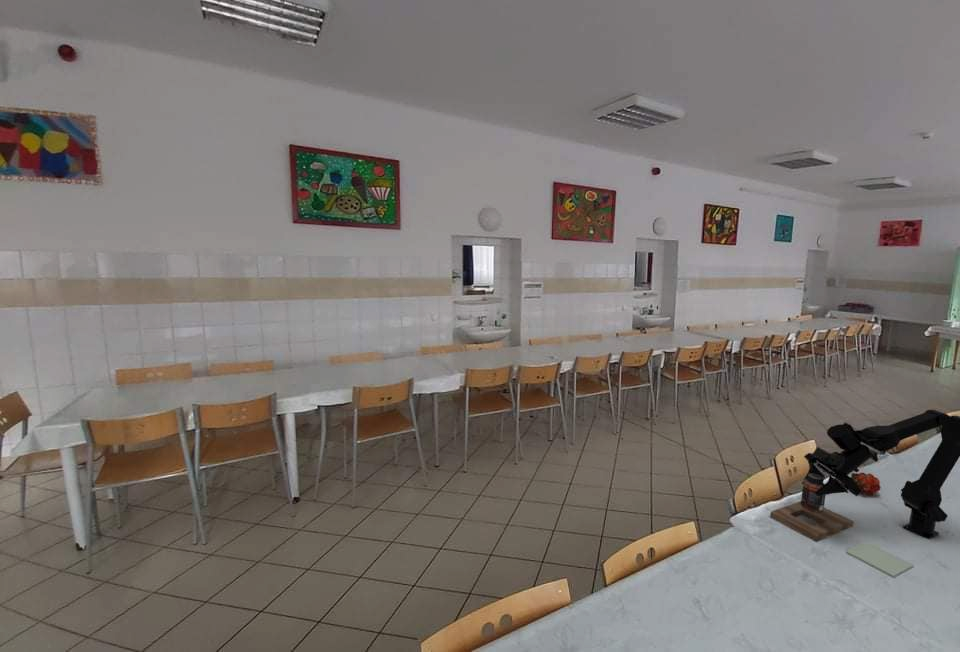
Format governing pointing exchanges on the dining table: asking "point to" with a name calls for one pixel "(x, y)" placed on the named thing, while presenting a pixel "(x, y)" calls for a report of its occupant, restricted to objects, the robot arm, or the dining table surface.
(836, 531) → the socket board
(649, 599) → the dining table surface
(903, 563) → the sage pad
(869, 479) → the dragon fruit
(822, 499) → the supplement bottle
